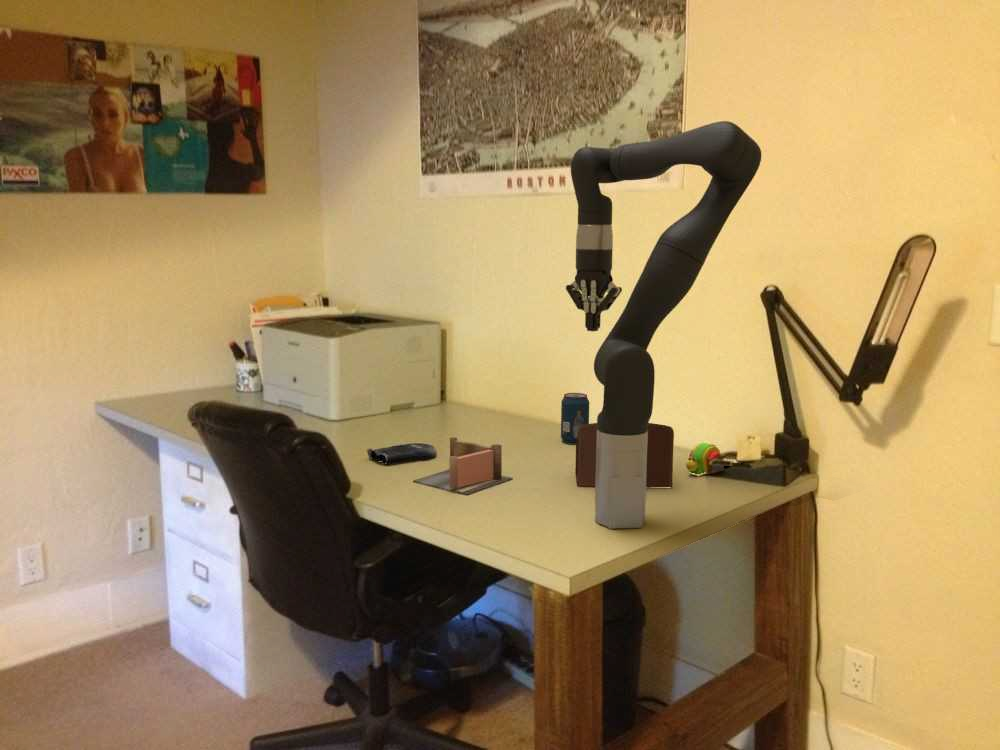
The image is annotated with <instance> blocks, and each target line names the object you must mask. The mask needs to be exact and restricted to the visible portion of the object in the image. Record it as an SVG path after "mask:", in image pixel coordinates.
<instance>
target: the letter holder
mask: <svg viewBox="0 0 1000 750" xmlns="http://www.w3.org/2000/svg"><path fill="white" fill-rule="evenodd" d="M674 443H675V430H674V429H673V427H672V426H670V425H665V424H658V423H654V422H653V423H652V422H649V423H648V443H647V472H646V487H673V475H674V474H673V473H674V472H673V468H674V467H673V466H674V465H673V463H674ZM596 445H597V422H594V423H589V424H585V425H581V426H580V427H579V429H578V437H577V443H576V445H575V468H574V469H575V471H574V472H575V481H576V487H578V488H579V487H581V488H584V487H585V488H595V486H596Z"/></svg>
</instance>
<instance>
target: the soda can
mask: <svg viewBox="0 0 1000 750" xmlns="http://www.w3.org/2000/svg"><path fill="white" fill-rule="evenodd" d="M560 404H561V405H560V407H561V408H560V409H561V412H560V414H561V415H560V421H561V422H560V437H561V439H562V442H563V443H564V444H567V445H574V444H576V443H577V437H578V429H579V427H580V426H581V425H585V424H590V401H589V399H588V394H586V393H582V392H581V393H580V392H567V393H564V394H563V397H562V399H561V403H560Z"/></svg>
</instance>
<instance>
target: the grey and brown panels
mask: <svg viewBox="0 0 1000 750" xmlns="http://www.w3.org/2000/svg"><path fill="white" fill-rule="evenodd" d="M502 448H503V446H502V444H498V443H497V444H491V446H489V445H484V444H479V443H473V442H469V441H465V440H459V439H458V438H457V437H450V438H449V457H450V456H457V457H460V456H464V455H468V454H473V453H477V452H481V451H485V450H493V478H492V479H488V480H484V481H480V482H477V483H473V484H469V485H465V486H462V487H458V488H455V489H451V488H450V468H449V469H447V470H444V471H440V472H437V473H434V474H430V475H426V476H423V477H421V478H417V479H413V483H416V484H420V485H425V486H429V487H433V488H436V489H440V490H445V491H449V492H452V493H455V494H458V495H459V494H461V495H464V496H469V495H471V494H472V495H473V494H475V493H477V492H478V493H479V492H480V491H484V490H486V489H488V488H489V489H490V488H492V487H494V486H497V485H501V484H503V483H506V482H509V481H512V480H513V479H514V478H513V477H510V476H505V475H502V469H503V468H502V458H503V457H502V453H503V451H502Z"/></svg>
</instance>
